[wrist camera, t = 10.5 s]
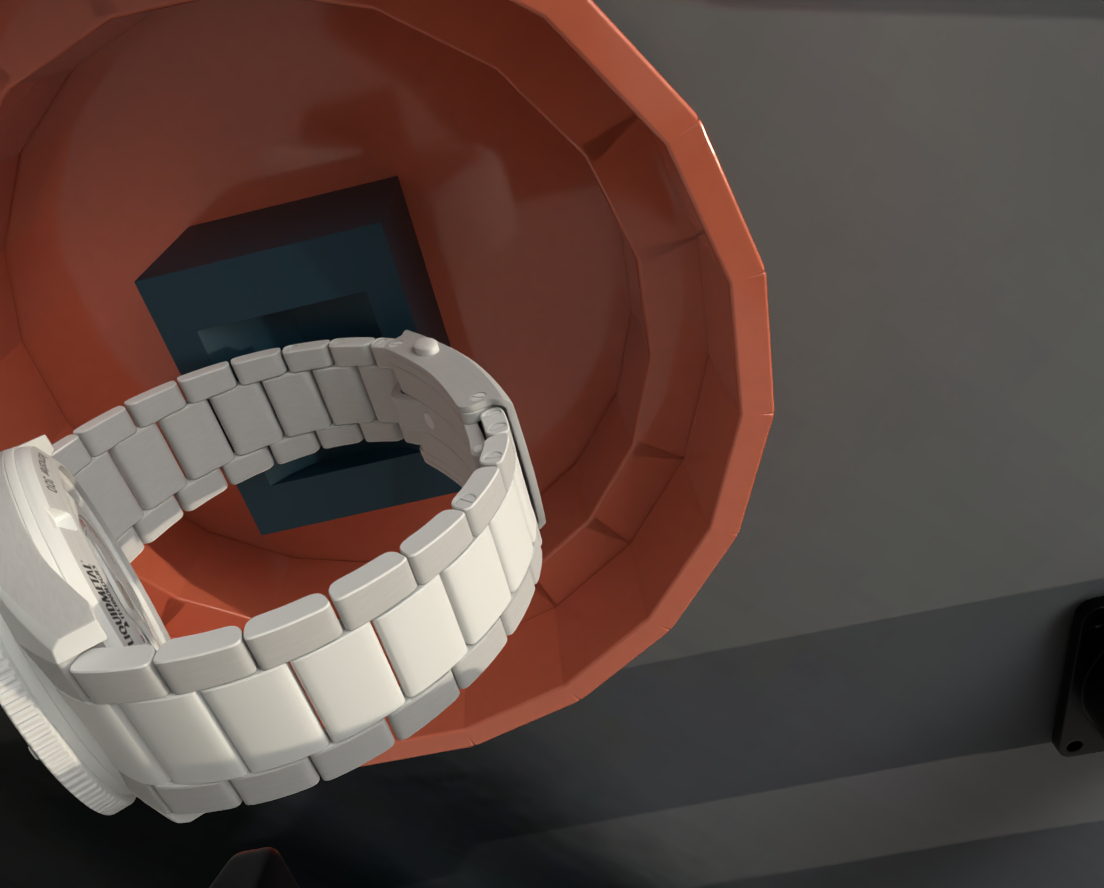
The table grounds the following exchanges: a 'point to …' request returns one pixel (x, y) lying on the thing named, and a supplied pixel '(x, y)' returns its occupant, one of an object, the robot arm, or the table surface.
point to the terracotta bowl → (454, 270)
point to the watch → (267, 520)
